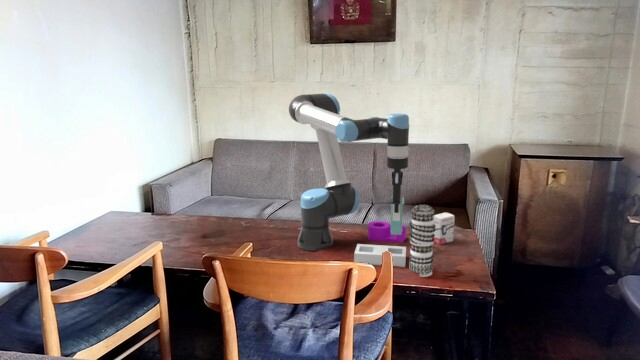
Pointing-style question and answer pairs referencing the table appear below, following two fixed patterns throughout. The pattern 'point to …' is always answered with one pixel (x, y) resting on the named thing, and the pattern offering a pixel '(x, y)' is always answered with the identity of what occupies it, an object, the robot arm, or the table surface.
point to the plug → (396, 225)
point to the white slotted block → (379, 254)
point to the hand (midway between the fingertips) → (396, 218)
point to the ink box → (443, 228)
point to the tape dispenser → (384, 232)
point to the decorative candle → (422, 240)
